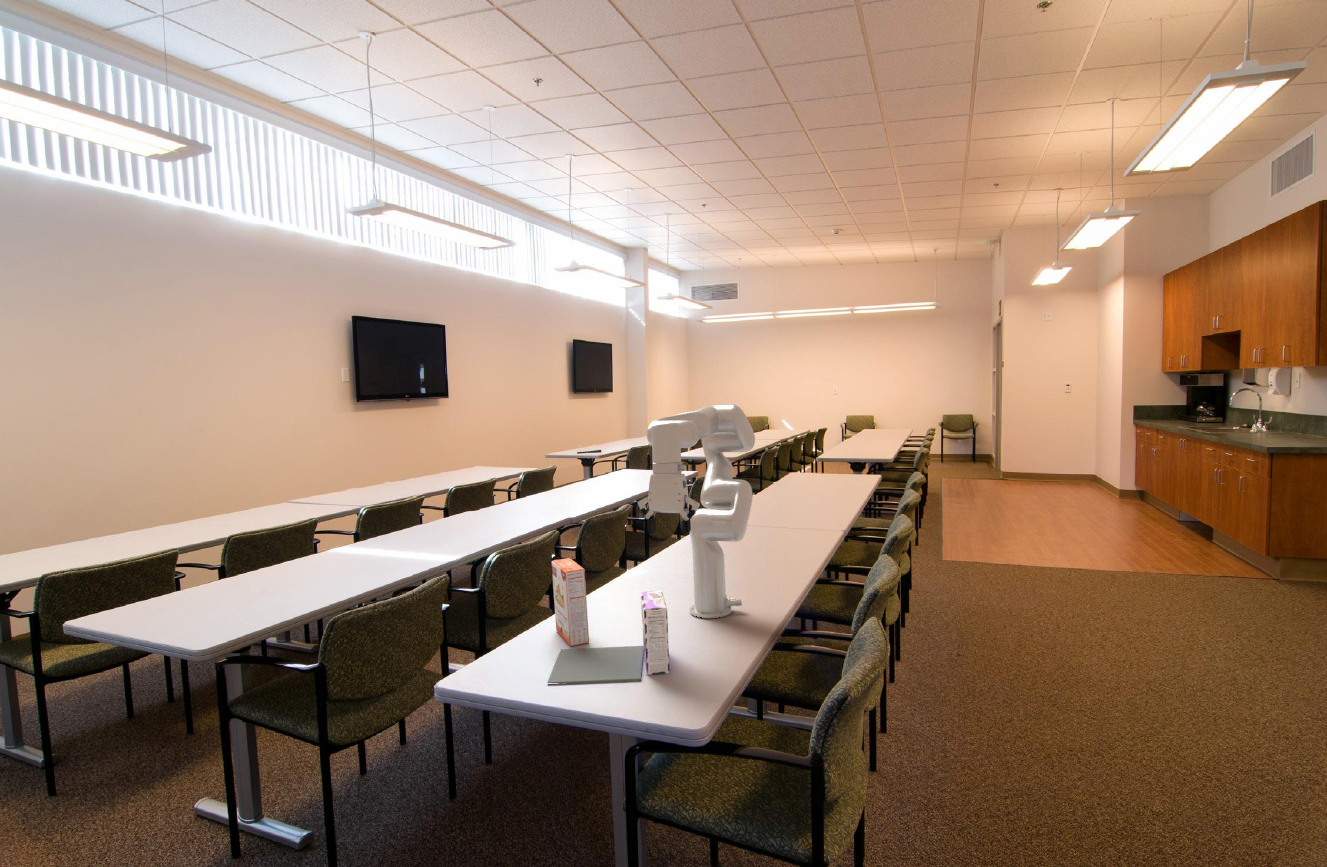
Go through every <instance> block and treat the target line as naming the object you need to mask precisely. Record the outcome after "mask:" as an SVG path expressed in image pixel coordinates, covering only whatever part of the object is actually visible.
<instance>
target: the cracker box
mask: <svg viewBox="0 0 1327 867" xmlns="http://www.w3.org/2000/svg"><path fill="white" fill-rule="evenodd" d="M551 571H552V574H551V575H552V589H553V600H554V601H553V602H554V604H553V605H554V616H555V629H556V632H557V634H559V635H560V637H561V638H562V639H563V640H564V641H565V643H566V644H567V645H568V647H575V646H580V645H584V644H589V643H590V636H589V622H588V621H589V619H588V603H587V602H588V601H587V587H586V586H587V585H586V570H585V568H583V567H582V566H581V565H579V564H578V563H577V562H576V561H574V560H573V559H572V558H570V557H567V558H562V559H554V560H552V561H551Z"/></svg>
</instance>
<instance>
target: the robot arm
mask: <svg viewBox="0 0 1327 867" xmlns="http://www.w3.org/2000/svg"><path fill="white" fill-rule="evenodd" d="M646 438H647V441H648V443H649V445H650V446H651V447H652V448H651V449H652V450H651V451H652V452H651V454H652V457H651V458H652V474H650V479H649V482H648V483H649V484H648V494H647V496H646V497H645V498H642V499H641V500H639V501H637V506H638V507H639V509H640V511H641V513H642V514H643V516H644V517H645V519H646V520H647V522H646V523H647V524H646V525H647V530H648V535H652V534H654V533H656V532H657V518H656V517H655V515H656V513H665V514H666V513H667V514H679V515H680V516H681V517H682V519H683V520H682V521H681V522H682V523H681V524H682V525H681V526H682V527H681V528H682V529H681V530H682V536H684V537H686V536H688V535H689V536H690V541H691V542H690V543H691V551H692V569H693V570H692V571H693V592H694V593H693V594H694V595H693V596H694V604H692V605H691V606H690V608H689V612H690V614H691V615H692V616H694V617H696V616H697V617H696V618H700V617H702V618H701V619H719V617H720V618H724V617H727V616H729V615H730V614H731V613H732V607H741V606H743V603H742V599H738V598H737V597H732V598H731V597H728V596H727V590H726V565H725V563H726V562H725V553H724V551H723V549H722V547H721V545H720V544H719V542H728V543H730V542H731V543H734V542H735V543H736V542H737V543H738V542H741V541H742V540H743V539H744V537H745V535H746V531H747V529H748V524H749V518H750V513H751V510H752V509H751V508H752V503H753V489H752V485H751V483H749V482H748V481H747V480H745V479H736V478H733V477H734V473H735V472H734V471H735V469H734V466H733V465H732V463H731V461H730V460H729V459H728V458H727V456H725V454H724V453H747V452H750V451H751V450H753V449H754V447H755V443H756V436H755V432H754V429H753V427H752V425H751V423H750V421H749V419H748V417H747V415H746V414H745V412H744V411H743V409H742V408H741V407H740V406H738V405H737V404H716V405H715V404H713V405H705V406H703V407H701V408H698V409H695V410H692V411H687V412H683V413H678V414H673V415H669V416H664V417H660V418H657V419H654V420H653V421H652V422H651V423H650V424H649V426H648V427H647V430H646ZM699 440H701V445H702V449H703V453H704V457H705V461H706V465H707V466H706V467H707V468H706V473H705V476H704V479H703V484H702V487H701V492H700V502H699V501H696V500H695V499H693V498H691V497H689V491H688V490H689V489H688V483H687V478H686V474H685V473H682V472H683V471H686V470H687V465H686V464H684V463H683V462H682V452H681V451H682V449H689V448H692V447H694V446H695V445H696V444H697V443H698V442H699ZM647 503H648V508H647V506H646V504H647ZM700 503H701V505H702V506H703V507H704V508H699V507H700ZM690 506H691V510H690V511H689V508H690Z"/></svg>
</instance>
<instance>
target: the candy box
mask: <svg viewBox="0 0 1327 867" xmlns="http://www.w3.org/2000/svg"><path fill="white" fill-rule="evenodd" d="M665 600H666V599H665V597H664V594H663V590H652V591H641V592H640V605H641V607H640V608H641V624H642V641H643V642H642V643H643V645H642V646H643V647H644V651H643V659H644V663H645V671H646V672H645V673H646V675H647V676H648V675H649V676H650V675H666V674H668V675H669V674H670V652H669V651H670V650H669V649H670V648H669V647H670V646H669V625H668V624H669V623H668V620H669V619H668V617H669V616H668V607H667V604H666V602H665Z"/></svg>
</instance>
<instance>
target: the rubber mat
mask: <svg viewBox="0 0 1327 867" xmlns="http://www.w3.org/2000/svg"><path fill="white" fill-rule="evenodd" d="M643 650H644V647H643V645H633V646H632V645H631V646H608V647H588V648H587V647H586V648H583V647H582V648H563V649H562V648H561V649H560V650H559V653H558V655H557V657H556V660H555V662H554V665H553V668H552V669H551V670H552V671H551V673H550V675H549V678H548V680H547V682H546V683H582V684H599V683H600V684H601V683H603V684H604V683H622V682H623V683H625V682H626V683H627V682H628V683H629V682H641V681H642V671H643V661H644V660H643V659H644V651H643Z"/></svg>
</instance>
